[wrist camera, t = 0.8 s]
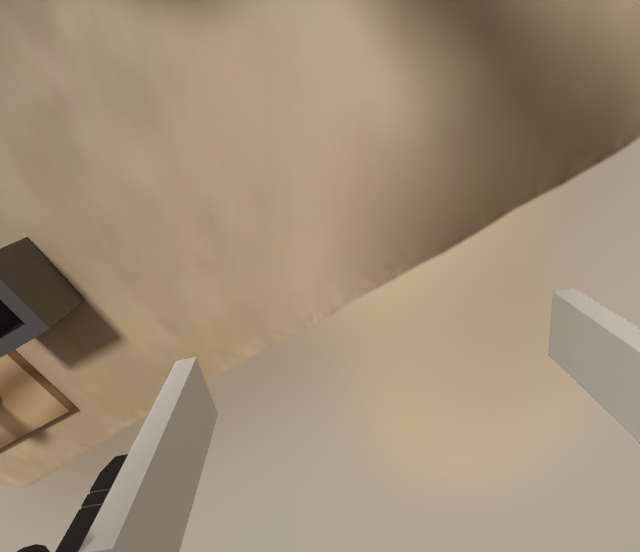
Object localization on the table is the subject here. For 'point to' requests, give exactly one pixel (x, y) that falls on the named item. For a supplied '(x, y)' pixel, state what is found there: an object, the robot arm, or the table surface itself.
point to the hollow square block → (30, 295)
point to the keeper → (26, 399)
